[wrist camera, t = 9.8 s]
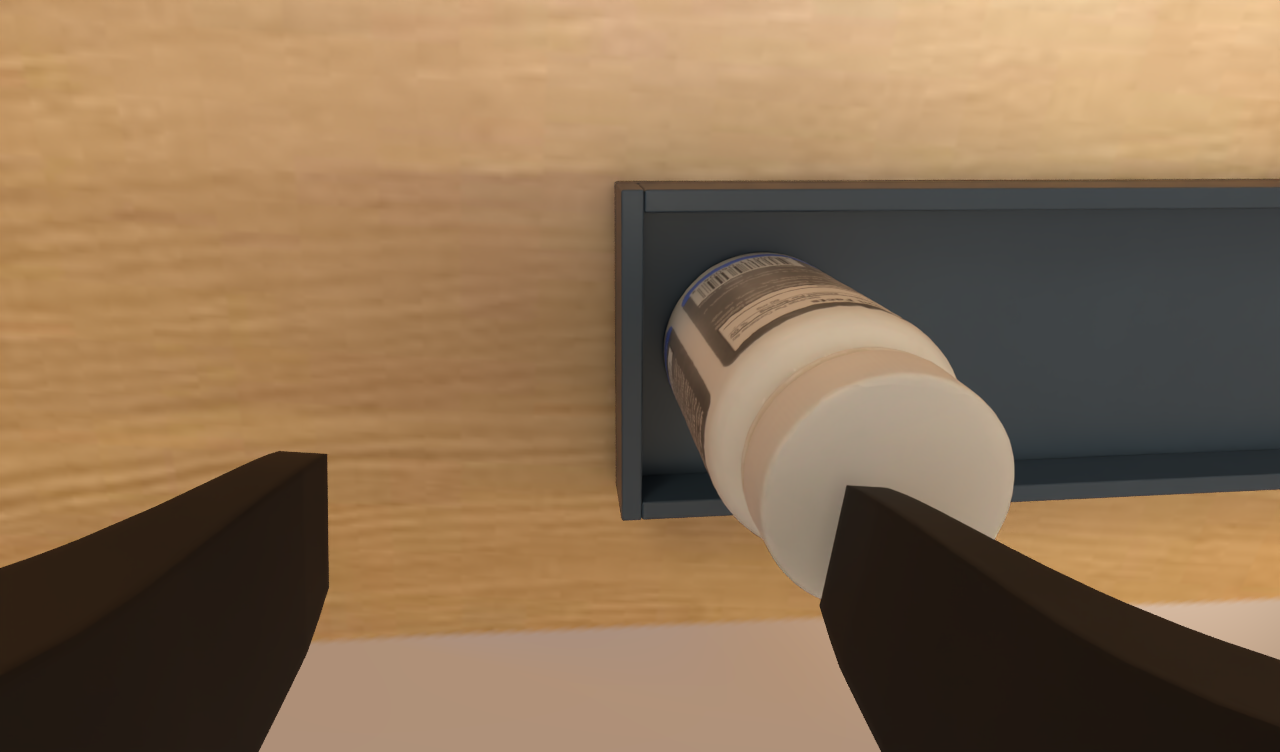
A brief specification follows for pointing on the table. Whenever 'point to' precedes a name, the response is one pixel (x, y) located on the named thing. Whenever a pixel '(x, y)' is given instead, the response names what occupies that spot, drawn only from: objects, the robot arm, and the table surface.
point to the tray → (995, 318)
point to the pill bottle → (824, 408)
